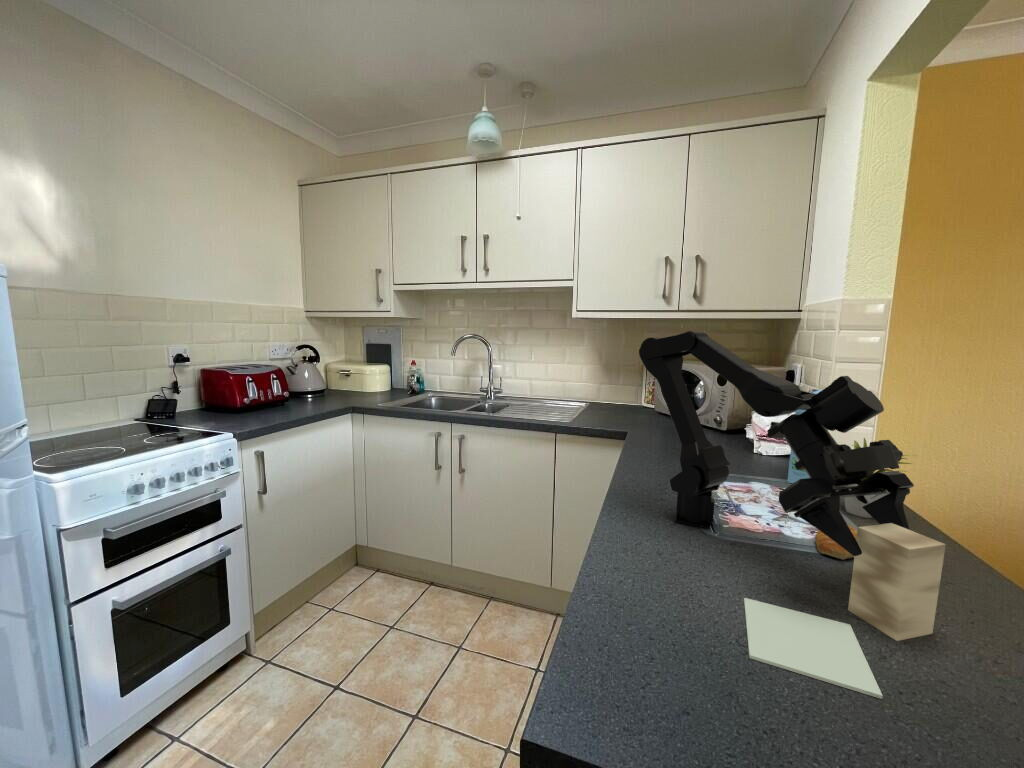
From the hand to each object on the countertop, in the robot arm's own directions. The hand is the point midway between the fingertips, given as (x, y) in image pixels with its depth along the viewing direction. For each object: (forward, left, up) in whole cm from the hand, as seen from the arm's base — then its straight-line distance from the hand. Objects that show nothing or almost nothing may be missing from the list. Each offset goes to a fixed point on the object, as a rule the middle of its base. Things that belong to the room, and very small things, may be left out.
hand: (885, 551), depth 56 cm
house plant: (+8, +40, -9) cm, 42 cm away
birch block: (+1, -1, -9) cm, 9 cm away
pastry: (0, +20, -9) cm, 22 cm away
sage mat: (-10, -11, -9) cm, 18 cm away
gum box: (+2, +64, -9) cm, 65 cm away
